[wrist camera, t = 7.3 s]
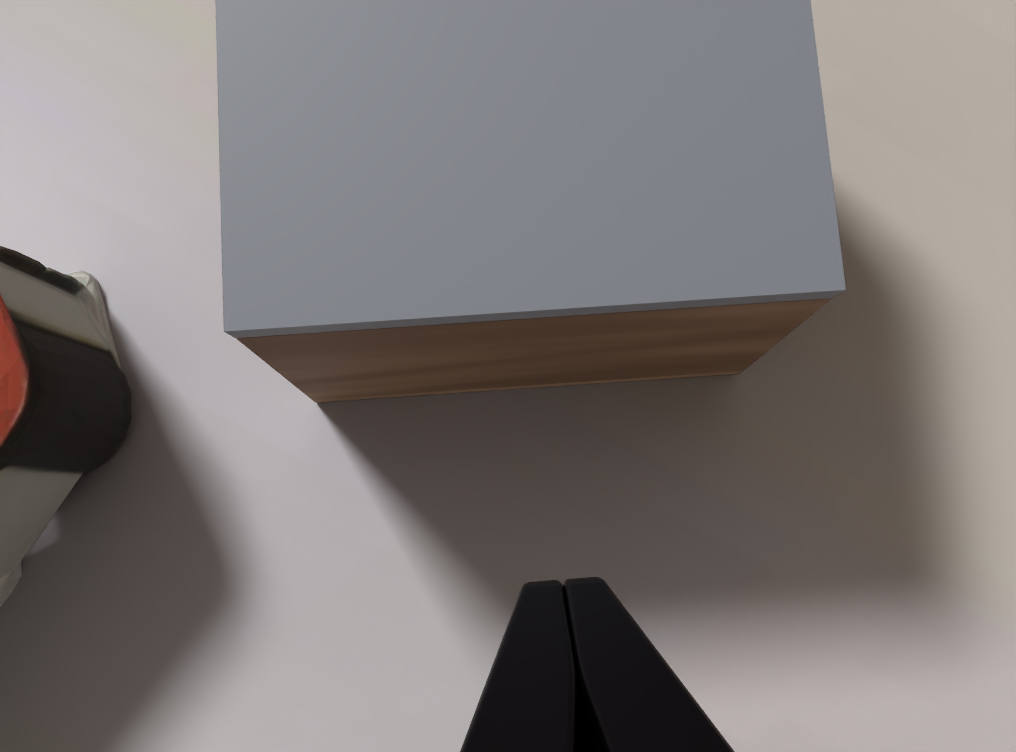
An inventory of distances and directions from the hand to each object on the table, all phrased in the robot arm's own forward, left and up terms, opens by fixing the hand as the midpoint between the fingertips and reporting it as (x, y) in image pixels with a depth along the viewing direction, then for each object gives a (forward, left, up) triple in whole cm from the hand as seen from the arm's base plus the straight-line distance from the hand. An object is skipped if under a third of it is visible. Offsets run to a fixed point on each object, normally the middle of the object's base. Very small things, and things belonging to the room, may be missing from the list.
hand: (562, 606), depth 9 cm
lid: (+8, 0, -4) cm, 9 cm away
